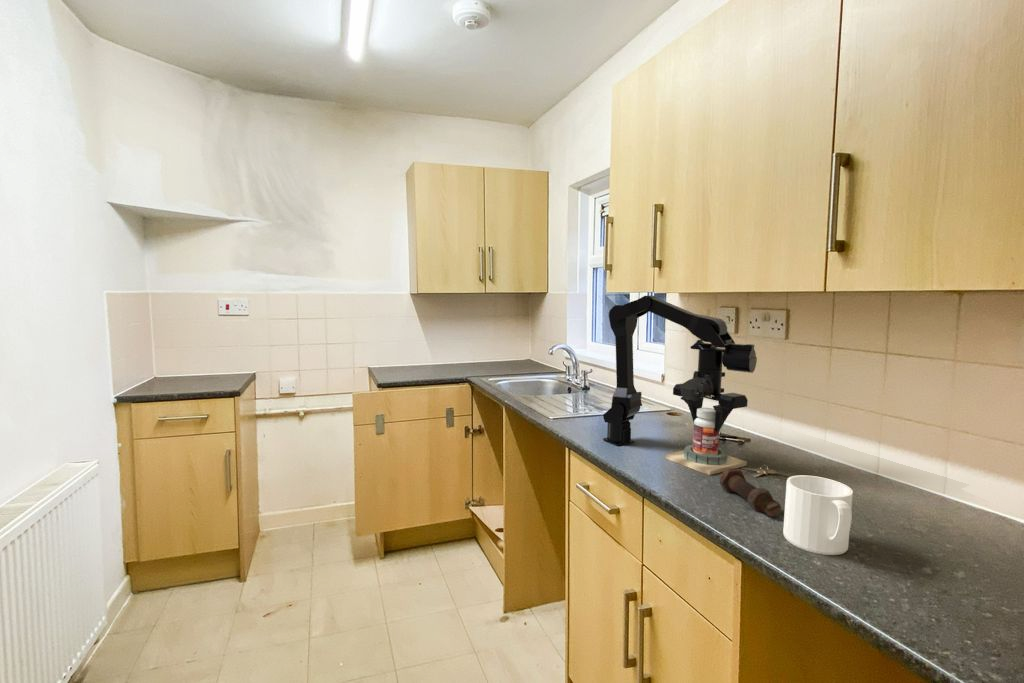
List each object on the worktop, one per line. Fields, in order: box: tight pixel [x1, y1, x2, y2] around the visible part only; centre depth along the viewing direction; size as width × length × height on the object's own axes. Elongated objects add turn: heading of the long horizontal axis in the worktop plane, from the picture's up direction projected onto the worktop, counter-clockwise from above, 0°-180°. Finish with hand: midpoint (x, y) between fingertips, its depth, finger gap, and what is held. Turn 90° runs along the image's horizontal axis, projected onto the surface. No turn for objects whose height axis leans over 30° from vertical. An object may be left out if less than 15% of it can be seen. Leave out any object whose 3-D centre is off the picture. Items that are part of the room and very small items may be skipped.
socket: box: [664, 444, 748, 476], centre depth 133 cm, size 14×14×3 cm
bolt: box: [719, 468, 782, 518], centre depth 107 cm, size 6×5×15 cm
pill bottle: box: [692, 407, 720, 455], centre depth 132 cm, size 6×6×11 cm
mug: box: [782, 474, 854, 556], centre depth 90 cm, size 13×10×10 cm
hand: (706, 428), depth 132 cm, fingers closed on pill bottle, 6 cm apart
